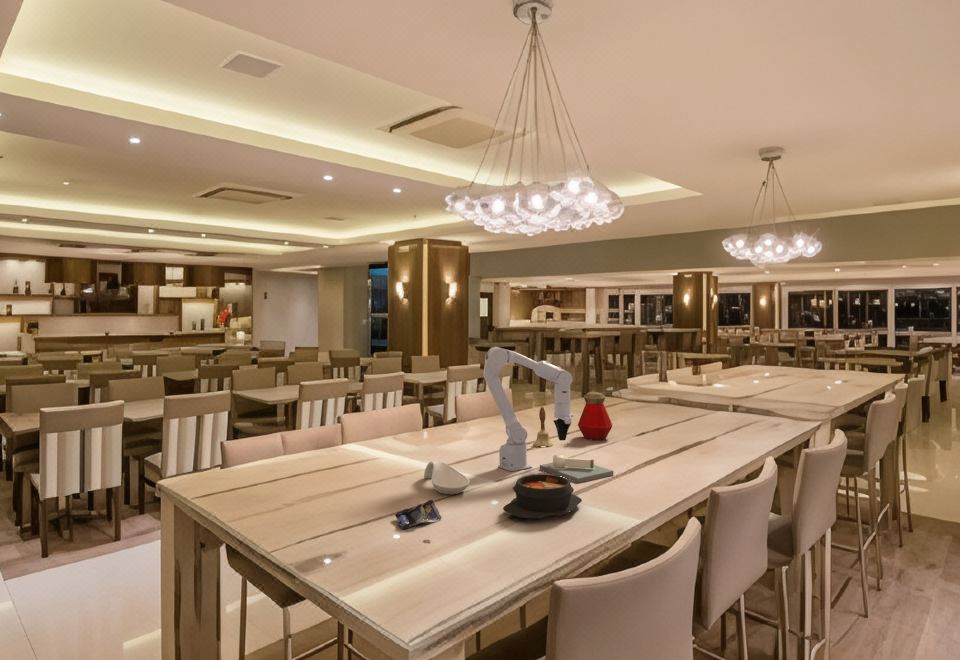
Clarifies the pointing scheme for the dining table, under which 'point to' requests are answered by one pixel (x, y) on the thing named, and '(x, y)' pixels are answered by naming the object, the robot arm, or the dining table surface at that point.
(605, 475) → the dial board
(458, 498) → the dining table surface
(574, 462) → the brown-capped cream post
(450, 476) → the spoon rest
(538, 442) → the hand bell
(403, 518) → the snack package
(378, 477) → the dining table surface
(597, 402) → the bottle
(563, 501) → the casserole
